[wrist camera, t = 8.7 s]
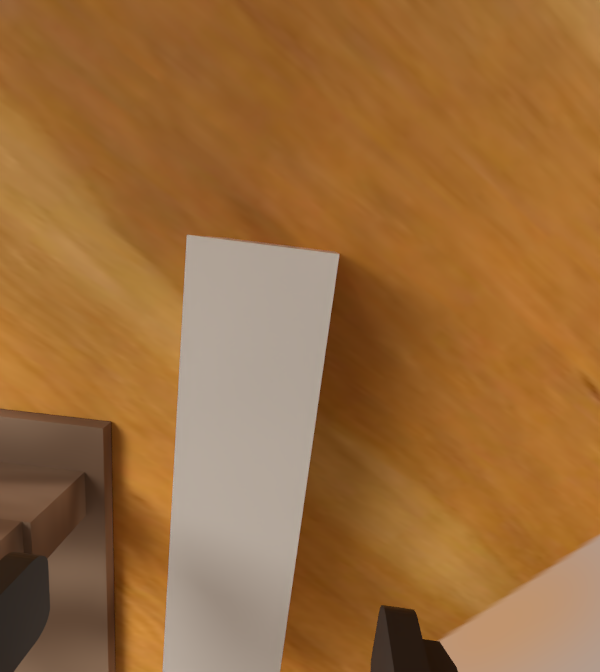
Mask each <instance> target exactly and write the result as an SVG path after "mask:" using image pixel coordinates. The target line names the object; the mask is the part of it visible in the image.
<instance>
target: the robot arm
mask: <svg viewBox="0 0 600 672" xmlns="http://www.w3.org/2000/svg"><path fill="white" fill-rule="evenodd" d="M49 612H50V593H49V570H48V560H47V558H46V557H45V556H42V555H35V554H28V553H21V552H10V553H8V554H7V555H5V556H4V557H3V558H2V559H1V560H0V672H14V671H15V669H16V668H17V667H18V665H19V664H20V663H21V661H22V660H23V659H24V657H25V656H26V655H27V653H28V652H29V651H30V649H31V648H32V647H33V645H34V644H35V643H36V641H37V640H38V638H39V637H40V635H41V633H42V632H43V630H44V627H45V625H46V623H47V620H48V617H49ZM371 672H458V671H457V667H456V666H455V664H454V663H453V661H452V660H451V659H450V657H449V655H448V654H447V652H446V651H445V649H444V648H443V646H442V645H441V643H440V642H438V641H431V640H425V639H422V635H421V631H420V626H419V622H418V618H417V615H416V612H415V611H414V610H412V609H405V608H398V607H391V606H384V605H381V607H380V611H379V616H378V622H377V628H376V634H375V640H374V646H373V652H372V658H371Z"/></svg>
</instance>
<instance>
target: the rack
mask: <svg viewBox="0 0 600 672" xmlns="http://www.w3.org/2000/svg"><path fill="white" fill-rule="evenodd" d="M10 552H21V553H28V554H35V555H42V556H45V557H46V558H47V560H48V570H49V593H50V612H49V617H48V620H47V623H46V625H45V627H44V630H43V632H42V633H41V635H40V637H39V638H38V640H37V641H36V643H35V644H34V645H33V647H32V648H31V649H30V651H29V652H28V653H27V655H26V656H25V657H24V659H23V660H22V661H21V663H20V664H19V665H18V667H17V668H16V669H15V671H14V672H116V671H115V614H114V557H113V501H112V444H111V422H109V421H100V420H92V419H83V418H75V417H66V416H57V415H49V414H40V413H31V412H23V411H14V410H5V409H0V560H1V559H2V558H3V557H4V556H5V555H7V554H8V553H10Z"/></svg>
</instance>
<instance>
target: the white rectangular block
mask: <svg viewBox="0 0 600 672" xmlns="http://www.w3.org/2000/svg"><path fill="white" fill-rule="evenodd" d="M338 261H339V253H337V252H334V251H326V250H318V249H311V248H303V247H295V246H287V245H279V244H271V243H263V242H255V241H247V240H239V239H231V238H223V237H210V236H196V235H187V241H186V259H185V277H184V295H183V313H182V331H181V349H180V367H179V385H178V403H177V421H176V439H175V457H174V475H173V493H172V511H171V529H170V547H169V565H168V583H167V601H166V619H165V637H164V655H163V672H280V668H281V661H282V654H283V647H284V640H285V633H286V626H287V619H288V612H289V605H290V598H291V591H292V584H293V577H294V570H295V563H296V556H297V549H298V542H299V535H300V528H301V521H302V514H303V507H304V500H305V493H306V486H307V479H308V472H309V465H310V458H311V451H312V444H313V437H314V430H315V423H316V415H317V408H318V401H319V394H320V387H321V380H322V373H323V366H324V359H325V352H326V345H327V338H328V331H329V324H330V317H331V310H332V303H333V296H334V289H335V282H336V275H337V268H338Z"/></svg>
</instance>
